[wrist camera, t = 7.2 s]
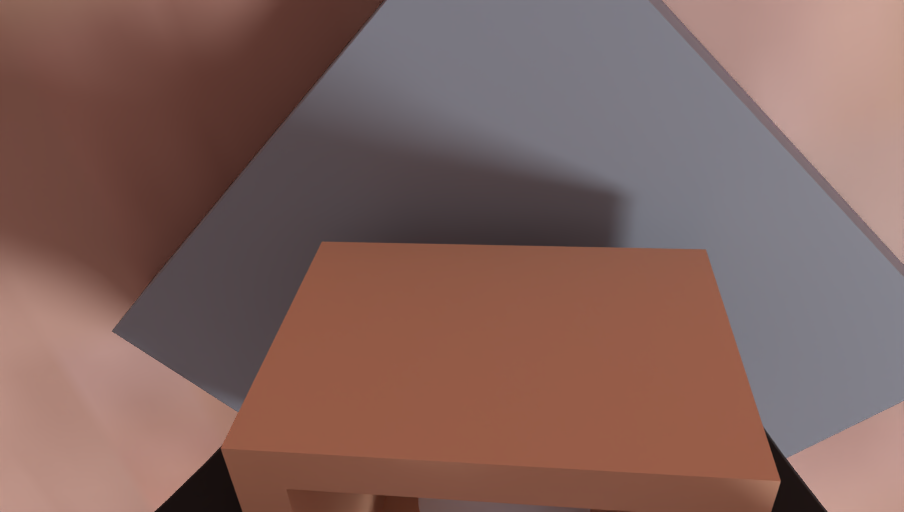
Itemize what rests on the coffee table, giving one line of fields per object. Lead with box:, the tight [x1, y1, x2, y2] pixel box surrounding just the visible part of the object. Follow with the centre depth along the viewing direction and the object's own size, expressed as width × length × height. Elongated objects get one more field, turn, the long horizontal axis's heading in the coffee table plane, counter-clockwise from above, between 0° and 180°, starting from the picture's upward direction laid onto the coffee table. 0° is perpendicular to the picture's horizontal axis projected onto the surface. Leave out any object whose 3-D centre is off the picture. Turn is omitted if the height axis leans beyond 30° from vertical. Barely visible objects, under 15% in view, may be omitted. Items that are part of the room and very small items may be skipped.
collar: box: [221, 242, 781, 512], centre depth 10 cm, size 6×6×4 cm
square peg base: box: [112, 0, 904, 512], centre depth 12 cm, size 11×11×5 cm
